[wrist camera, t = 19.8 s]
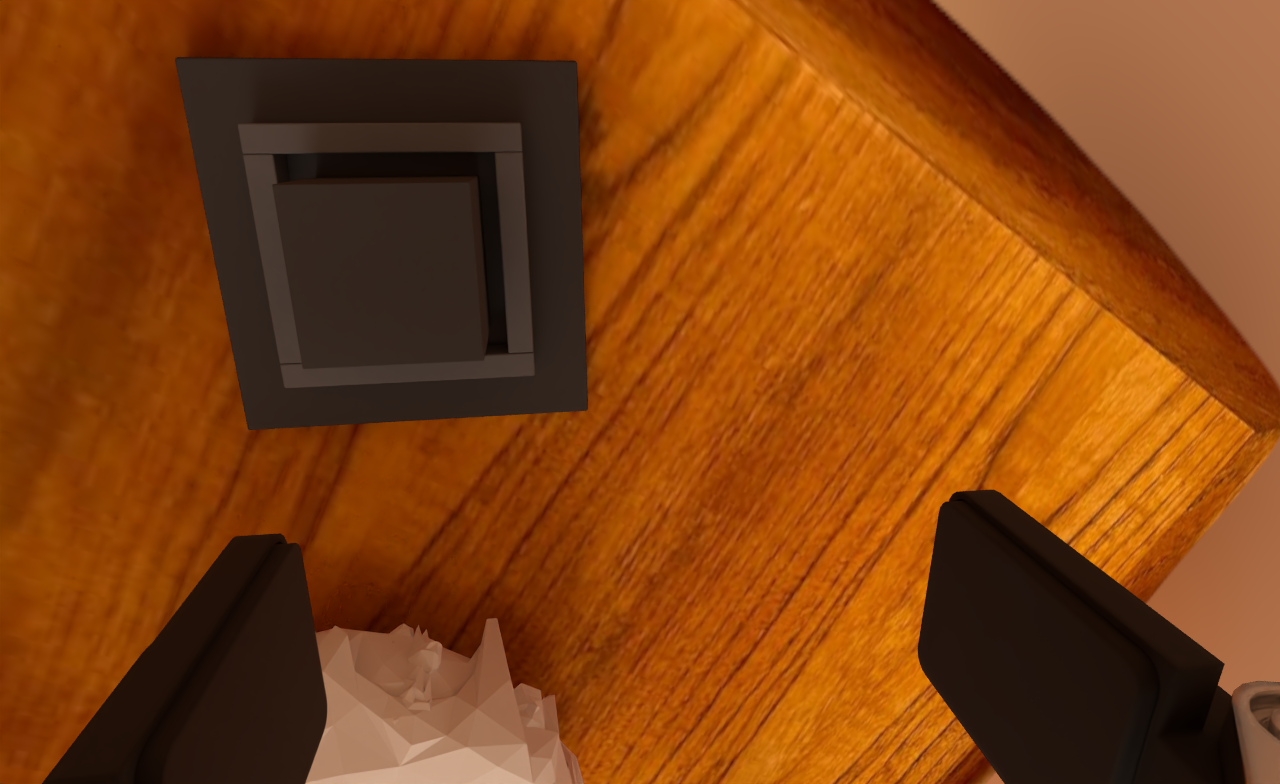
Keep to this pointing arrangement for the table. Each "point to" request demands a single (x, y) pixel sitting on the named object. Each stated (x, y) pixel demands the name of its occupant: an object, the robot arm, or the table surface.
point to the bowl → (432, 714)
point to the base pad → (397, 146)
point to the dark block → (385, 269)
